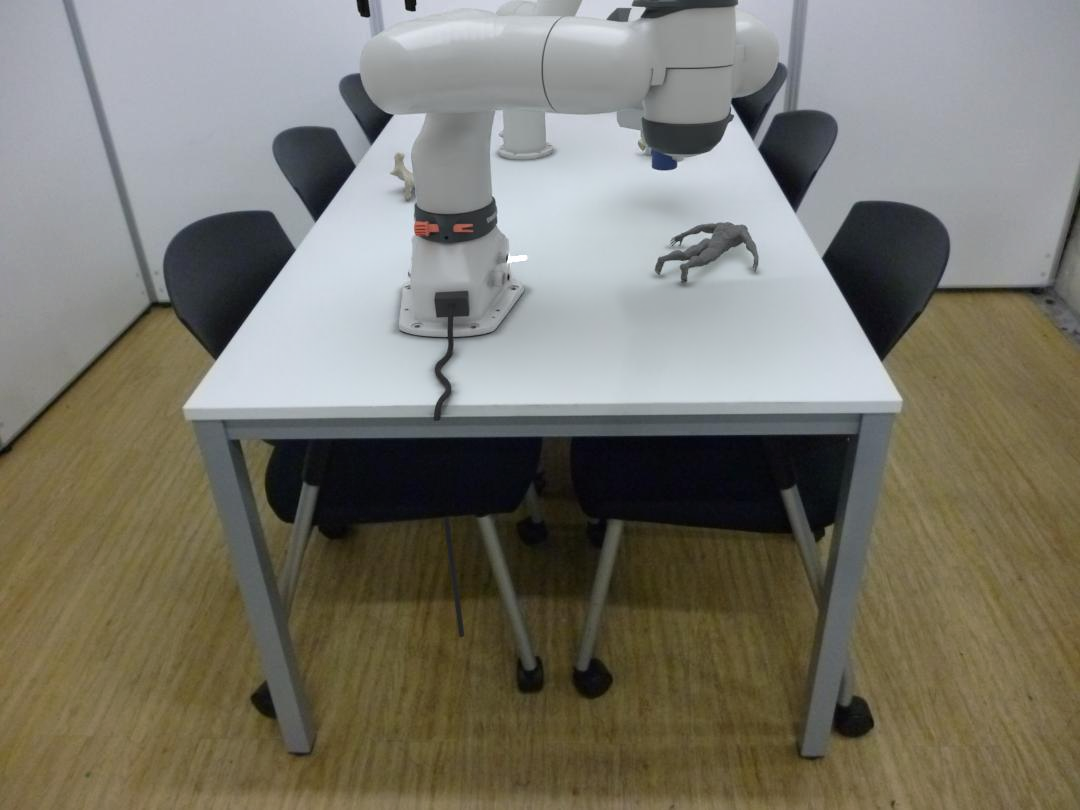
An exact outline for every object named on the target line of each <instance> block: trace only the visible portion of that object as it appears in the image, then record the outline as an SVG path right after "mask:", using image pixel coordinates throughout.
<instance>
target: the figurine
mask: <svg viewBox="0 0 1080 810" xmlns="http://www.w3.org/2000/svg"><path fill="white" fill-rule="evenodd" d="M701 232H703V233H704V234H712V235H711V237H710V238H703V239H702V240H701V241H699V242H698V243H697V244H694V245H690V246H689V247H688V248H687V249H685V250H684V251H683V250H681V249H676V250H673V251H671V252H670V253H668V254H666V255H662V256H659V257H658V258H657V261H656V263H655V267H654V272H655V274H657V275H658V276H660V275H661V273H662V270H663V268H664V264H665V262H671V261H675V262H676V261H679V262H685V263H680V265H679V269H680V271H681V274H680V280H681V281H680V282H681V284H685V283H687V282H688V281H689V279H688V275H689V269H693V268H697V267H699V268H700V267H704V266H707V265H709V264H711V263H712V262H715V261H716V260H717V259H718V258H720V257H721V255H723V254H725V252H728V251H730V250H731V249H732V248H736V247H738V246H740V245H742V244H743V245H745V249H746V250H747V251H749V252H750V253H751V255H752V256H753V265H752V269H754V270H753V271H754V272H757V269H758V266H759V260H760V259H759V257H760V256H759V254H758V250H757V244H756V243H755V242H754V240H753V238H752V235H751V234H750V232H749V229H748V226H747V225H745V224H742V223H741V224H734V223H732V222H729V221H726V222H716V223H713V222H710V223H701V224H698V225H695V226H693V227H692V228H690V229H688V230H687V231H684V232H681V233H679V234H677V235H675V236H673V237H671V240H670V241H669V242H670V243H669V245H671V247H674V245H676V244H677V243H678V242H679V244H678V246H679V247H681V246H682V242H683V240H684V238H686V237H688V236H691V235H698V234H700V233H701Z"/></svg>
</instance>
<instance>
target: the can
mask: <svg viewBox="0 0 1080 810" xmlns="http://www.w3.org/2000/svg"><path fill="white" fill-rule="evenodd" d="M677 168H678V162H677V161H673V160H672V156H668V155H666V154H663V153H660V152H657V151H654V150H653V149H652V156H651V169H653V170H656V171H661V172H662V171H663V172H664V171H666V172H667V171H672V170H676V169H677Z"/></svg>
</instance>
